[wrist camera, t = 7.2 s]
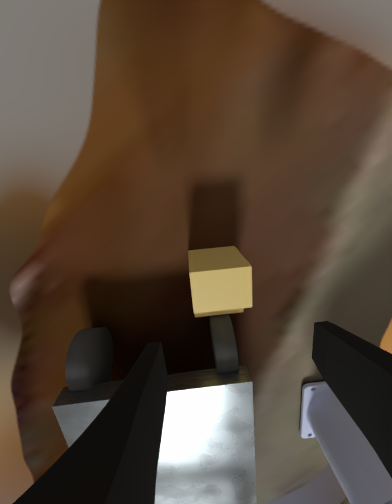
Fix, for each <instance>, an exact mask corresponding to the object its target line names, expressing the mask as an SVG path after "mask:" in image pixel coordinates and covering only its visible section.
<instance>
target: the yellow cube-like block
mask: <svg viewBox="0 0 392 504" xmlns="http://www.w3.org/2000/svg"><path fill="white" fill-rule="evenodd" d="M188 257H189V275H190V284H191V293H192V302H193V311H194V314H195V317H203V316H212V315H221V314H230V313H239V312H243V308H250V307H252V266H251V265H250V264H249V263H248V261H247V260H246V259H245V258H244V257H243V255H242V254H241V253H240V252H239V250H238V249H237V248H236V247H235V246H227V247H218V248H208V249H198V250H189V251H188Z"/></svg>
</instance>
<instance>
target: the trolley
mask: <svg viewBox="0 0 392 504" xmlns="http://www.w3.org/2000/svg"><path fill="white" fill-rule="evenodd" d="M209 323H210V333H211V341H212V349H213V356H214V363H215V369H207V370H199V371H191V372H183V373H175V374H167V375H168V379H167V401H166V409H165V416H164V424H163V431H162V438H161V445H160V452H159V459H158V468H157V477H156V491H155V504H256V474H255V445H254V415H253V385H252V379H251V376H250V373H249V370H248V367H247V365H239V362H238V353H237V346H236V340H235V335H234V330H233V326H232V322H231V318H230V316H229V314H221V315H212V316H209ZM113 360H114V347H113V340H112V336H111V334H110V332H109V330H108V329H107V328H106V327H97V328H89V329H82V330H80V331H79V332H78V333H77V334H76V335H75V337H74V338H73V340H72V342H71V344H70V347H69V350H68V353H67V358H66V365H65V376H66V383H67V386H68V387H64V388H63V389H62V391H61V393H60V394H59V396H58V398H57V399H56V401H55V403H54V404H53V406H52V408H53V410H54V413H55V415H56V418H57V420H58V423H59V425H60V427H61V430H62V432H63V435H64V437H65V439H66V442H67V444H68V447H70V446H71V445H72V444H73V443H74V442H75V441H76V440H77V438H78V437H79V436H80V435H81V434H82V433H83V432H84V431H85V429H86V428H87V427H88V426H89V425H90V424H91V422H92V421H93V420H94V419H95V418H96V416H97V415H98V414H99V413H100V411H101V410H102V409H103V408H104V406H105V405H106V404H107V403H108V401H109V400H110V398H111V397H112V396H113V394H114V393H115V392H116V390H117V389H118V388H119V386H120V385H121V383H122V382H123V381H124V380H118V381H110V382H109V379H110V376H111V373H112V368H113Z"/></svg>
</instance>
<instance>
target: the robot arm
mask: <svg viewBox="0 0 392 504" xmlns="http://www.w3.org/2000/svg"><path fill="white" fill-rule="evenodd" d="M312 359H313V361H314V363H315V364H316V366H317V368H318V370H319V372H320V373H321V375H322V377H323V379H324V380H325V381H323V382H315V383H307V384H304V385H303V387H302V403H301V420H300V435H301V437H302V438H312V437H316V439H317V441H318V443H319V445H320V446H321V448H322V450H323V452H324V454H325V456H326V458H327V460H328V462H329V464H330V465H331V468H332V469H333V471H334V473H335V475H336V477H337V479H338V481H339V483H340V485H341V487H342V489H343V490H344V492H345V494H346V496H347V498H348V500H349V502H350V504H392V354H391V353H389V352H387V351H385V350H383V349H381V348H379V347H377V346H375V345H373V344H371V343H369V342H367V341H365V340H363V339H361V338H360V337H358V336H356V335H354V334H352V333H350V332H348V331H346V330H344V329H342V328H341V327H339V326H337V325H335V324H333V323H330V322H328V321H324V322H315V323H314V336H313V350H312ZM167 379H168V375H167V370H166V364H165V359H164V354H163V348H162V343H161V341H158V342H150V343H148V344H147V345H146V346H145V348H144V349H143V351H142V353H141V354H140V356H139V358H138V359H137V361H136V362H135V364H134V366H133V367H132V369H131V370H130V372H129V373H128V375H127V376H126V378H125V379H124V381H123V382H122V383H121V385H120V386H119V388H118V389H117V390H116V392H115V393H114V394H113V396H112V397H111V398H110V400H109V401H108V403H107V404H106V405H105V406H104V408H103V409H102V410H101V411H100V413H99V414H98V415H97V416H96V418H95V419H94V420H93V421H92V422H91V424H90V425H89V426H88V427H87V428H86V429H85V431H84V432H83V433H82V434H81V435H80V436H79V437H78V438H77V440H76V441H75V442H74V443H73V444H72V445H71V446H70V447H69V448H68V449H67V451H66V452H65V453H64V454H63V455H62V456H61V457H60V458H59V459H58V460H57V461H56V462H55V463H54V464H53V465H52V466H51V467H50V468H49V469H48V470H47V471H46V472H45V473H44V474H43V475H42V476H41V477H40V478H39V479H38V480H37V481H36V482H35V483H34V484H33V485H32V486H31V487H30V488H29V489H28V490H27V491H26V492H25V493H24V494H23V495H21V496H20V497H19V498H18V499H17V500H16V501H15V502H14V503H13V504H155V491H156V477H157V468H158V459H159V452H160V445H161V438H162V431H163V424H164V416H165V409H166V401H167Z"/></svg>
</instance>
